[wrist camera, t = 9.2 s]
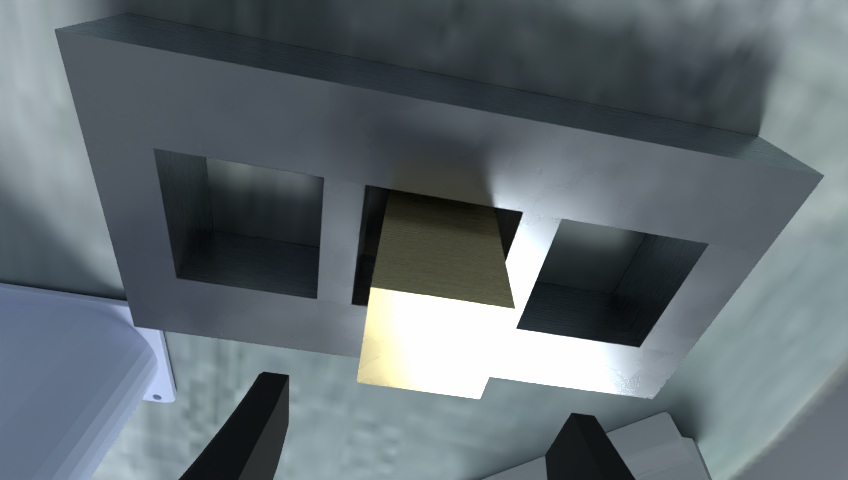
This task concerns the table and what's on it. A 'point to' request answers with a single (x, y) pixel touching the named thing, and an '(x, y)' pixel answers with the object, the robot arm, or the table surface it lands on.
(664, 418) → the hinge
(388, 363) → the brass block
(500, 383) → the table surface
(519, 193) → the grey block holder
